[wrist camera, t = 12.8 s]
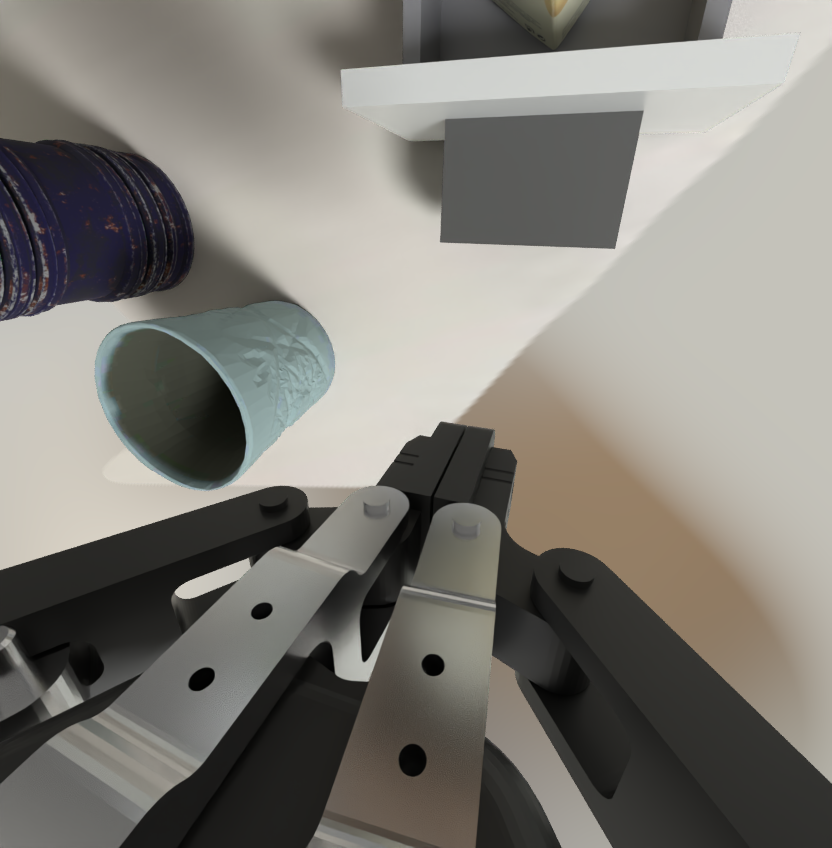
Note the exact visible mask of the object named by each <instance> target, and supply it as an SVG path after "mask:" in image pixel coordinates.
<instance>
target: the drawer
mask: <svg viewBox="0 0 832 848" xmlns="http://www.w3.org/2000/svg"><path fill="white" fill-rule="evenodd" d="M731 3H732V0H590V1H589V3H588V4H587V6H586V7H585V9H584V10H583V12H582V13H581V15H580V16H579V17H578V19H577V20H576V22H575V23H574V25H573V26H572V28H571V29H570V31H569V32H568V33H567V35H566V36H565V38H564V39H563V41H562V42H561V43H560V45H559V46H558V48H556V49H555V50H553V49H551V48H549V47H548V46H546V45H545V44H544V43H542V42H541V41H540V40H538V39H537V38H536V37H534V36H533V35H532V34H531V33H529V32H528V31H527V30H526V29H524V28H523V27H522V26H521V25H520V24H519V23H517V22H516V21H515V20H514V19H513V18H512V17H511V16H509V15H508V14H507V13H506V12H505V11H504V10H503V9H502V8H500V7H499V6H498V5H497V4H496V3H495V2H494V1H493V0H403V65H391V66H379V67H366V68H354V69H342V70H341V87H342V107H343V108H345V109H347V110H349V111H350V112H352V113H354V114H356V115H358V116H360V117H362V118H364V119H366V120H368V121H370V122H372V123H374V124H376V125H378V126H380V127H382V128H384V129H386V130H388V131H390V132H392V133H394V134H396V135H398V136H400V137H402V138H404V139H406V140H408V141H437V140H444V161H443V186H442V211H441V236H440V242H445V243H472V244H499V245H527V246H554V247H582V248H609V249H615V246H616V241H617V236H618V232H619V227H620V222H621V217H622V213H623V208H624V203H625V198H626V193H627V189H628V184H629V179H630V174H631V170H632V165H633V160H634V155H635V151H636V146H637V141H638V136H639V134H671V133H705V132H707V131H708V130H710V129H712V128H713V127H715V126H717V125H718V124H720V123H721V122H723V121H725V120H726V119H728V118H729V117H731V116H733V115H734V114H736V113H737V112H739V111H741V110H742V109H744V108H745V107H747V106H749V105H750V104H752V103H753V102H755V101H757V100H758V99H760V98H761V97H763V96H765V95H766V94H768V93H769V92H771V91H773V90H774V89H776V88H777V87H779V86H781V85H782V84H784V82H785V79H786V76H787V73H788V70H789V67H790V64H791V61H792V58H793V55H794V51H795V48H796V45H797V42H798V39H799V36H800V33H801V32H798V33H786V34H773V35H761V36H749V37H736V38H724V39H722V38H723V34H724V30H725V26H726V23H727V19H728V15H729V11H730V7H731Z"/></svg>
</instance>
